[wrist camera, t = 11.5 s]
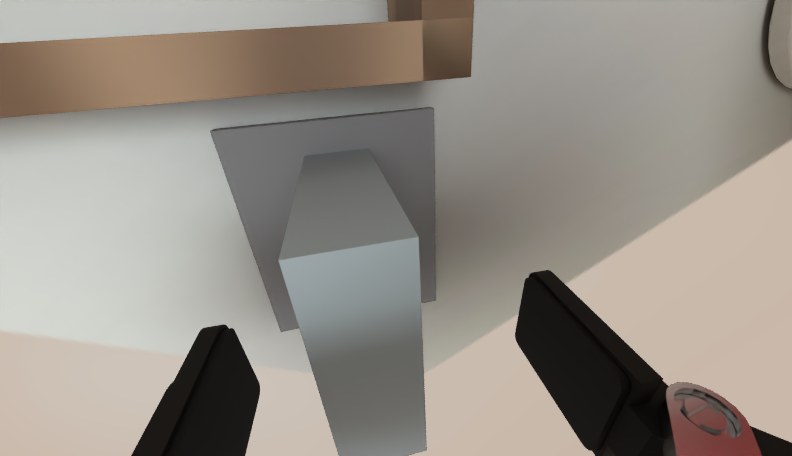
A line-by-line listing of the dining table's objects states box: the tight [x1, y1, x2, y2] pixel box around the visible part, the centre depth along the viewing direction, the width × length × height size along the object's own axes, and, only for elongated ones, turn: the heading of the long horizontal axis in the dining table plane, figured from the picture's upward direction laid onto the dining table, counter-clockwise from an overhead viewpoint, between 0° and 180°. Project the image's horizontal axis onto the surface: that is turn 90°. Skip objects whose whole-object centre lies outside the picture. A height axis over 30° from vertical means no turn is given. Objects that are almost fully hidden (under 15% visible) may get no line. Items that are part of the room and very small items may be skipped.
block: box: [278, 148, 427, 456], centre depth 12 cm, size 3×9×9 cm, turn 5°
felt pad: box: [210, 107, 436, 332], centre depth 17 cm, size 10×12×1 cm
